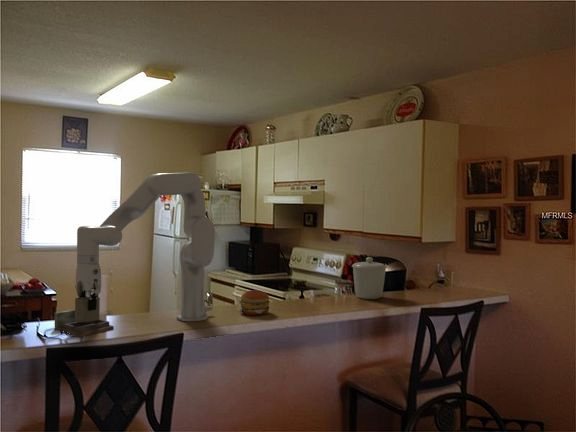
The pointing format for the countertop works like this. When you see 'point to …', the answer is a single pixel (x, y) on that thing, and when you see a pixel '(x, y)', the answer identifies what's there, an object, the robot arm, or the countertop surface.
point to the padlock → (85, 308)
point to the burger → (254, 303)
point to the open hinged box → (79, 324)
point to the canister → (369, 279)
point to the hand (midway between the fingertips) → (87, 308)
